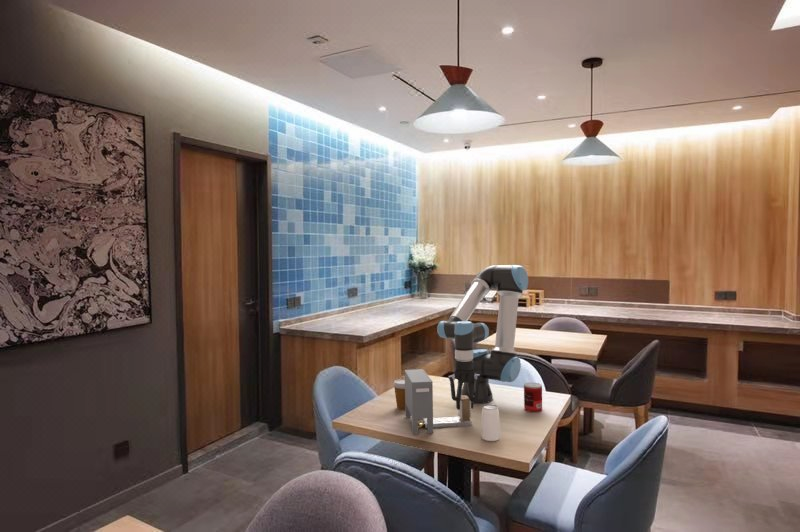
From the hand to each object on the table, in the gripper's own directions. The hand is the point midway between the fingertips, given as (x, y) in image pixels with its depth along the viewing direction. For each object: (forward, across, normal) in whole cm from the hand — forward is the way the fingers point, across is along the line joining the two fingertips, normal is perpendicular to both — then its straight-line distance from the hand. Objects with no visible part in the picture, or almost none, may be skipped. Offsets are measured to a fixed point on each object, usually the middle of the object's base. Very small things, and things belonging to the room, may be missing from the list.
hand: (464, 416), depth 197 cm
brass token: (+3, +20, 0) cm, 20 cm away
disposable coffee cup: (+3, +22, -24) cm, 33 cm away
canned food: (+3, -34, -12) cm, 36 cm away
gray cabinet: (+3, +19, -2) cm, 19 cm away
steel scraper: (+3, +7, 0) cm, 8 cm away
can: (+3, -5, +18) cm, 19 cm away
